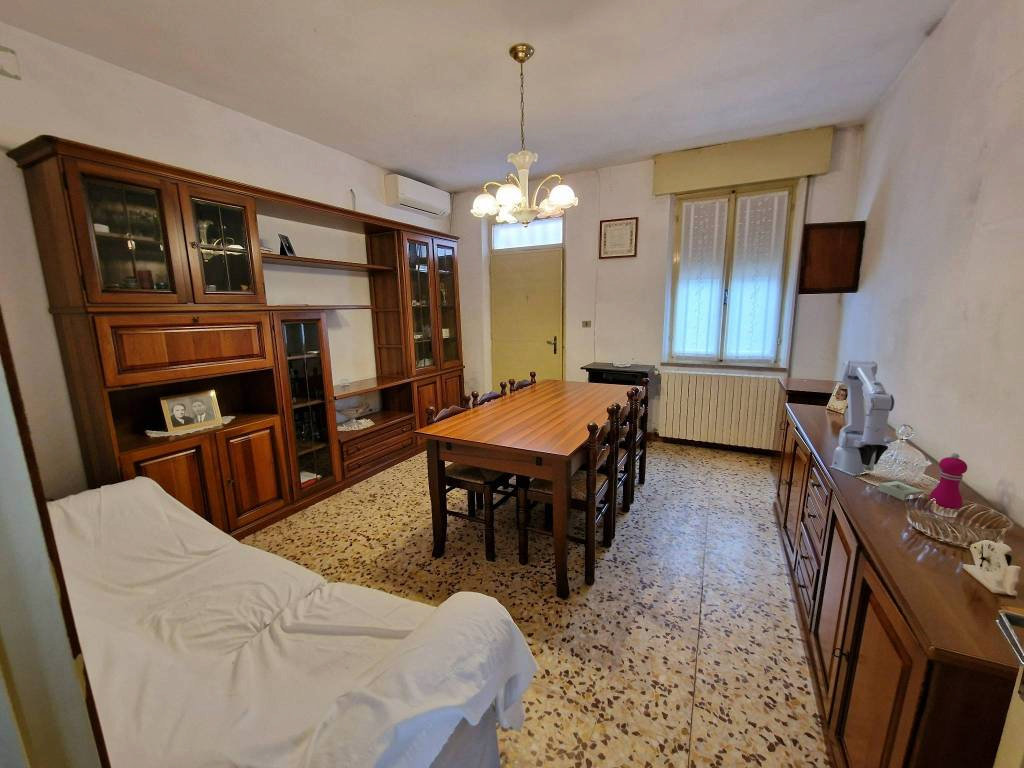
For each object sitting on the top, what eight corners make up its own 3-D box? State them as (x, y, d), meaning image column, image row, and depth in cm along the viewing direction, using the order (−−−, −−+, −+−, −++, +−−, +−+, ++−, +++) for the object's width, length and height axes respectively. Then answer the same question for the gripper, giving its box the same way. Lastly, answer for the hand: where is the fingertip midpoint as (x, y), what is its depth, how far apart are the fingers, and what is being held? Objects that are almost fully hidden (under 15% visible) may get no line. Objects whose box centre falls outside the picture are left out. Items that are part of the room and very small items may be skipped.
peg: (860, 468, 149) (864, 447, 147) (867, 467, 149) (870, 446, 148) (869, 471, 146) (872, 449, 144) (875, 470, 147) (879, 449, 145)
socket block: (878, 490, 147) (879, 483, 146) (895, 487, 148) (896, 481, 148) (903, 500, 139) (905, 493, 139) (921, 497, 141) (923, 491, 140)
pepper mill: (935, 516, 129) (947, 456, 125) (921, 505, 136) (933, 448, 132) (965, 520, 127) (979, 459, 123) (950, 509, 133) (963, 450, 129)
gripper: (871, 432, 139) (864, 470, 142) (904, 429, 142) (897, 466, 145) (850, 426, 146) (844, 462, 149) (881, 423, 149) (875, 458, 152)
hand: (868, 463), depth 147 cm, fingers closed on peg, 3 cm apart
